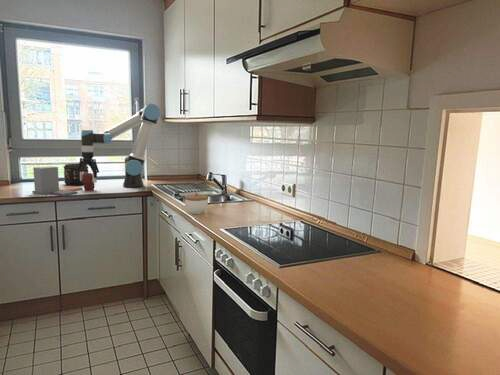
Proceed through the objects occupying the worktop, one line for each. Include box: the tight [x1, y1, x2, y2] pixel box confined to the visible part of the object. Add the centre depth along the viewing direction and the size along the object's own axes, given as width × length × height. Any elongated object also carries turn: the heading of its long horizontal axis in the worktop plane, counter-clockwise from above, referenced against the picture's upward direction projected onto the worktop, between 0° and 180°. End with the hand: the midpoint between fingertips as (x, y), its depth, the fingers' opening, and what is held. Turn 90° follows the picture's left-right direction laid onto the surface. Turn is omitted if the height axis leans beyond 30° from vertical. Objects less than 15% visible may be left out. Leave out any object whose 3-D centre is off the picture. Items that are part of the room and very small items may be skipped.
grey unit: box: [31, 165, 61, 196], centre depth 249 cm, size 14×12×18 cm
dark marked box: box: [63, 163, 89, 187], centre depth 289 cm, size 18×18×16 cm
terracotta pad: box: [59, 185, 84, 192], centre depth 263 cm, size 14×14×2 cm
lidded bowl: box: [184, 192, 209, 215], centre depth 201 cm, size 13×13×11 cm
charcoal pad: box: [51, 190, 78, 197], centre depth 247 cm, size 11×11×2 cm
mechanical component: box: [81, 172, 95, 192], centre depth 263 cm, size 12×10×10 cm
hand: (88, 181), depth 262 cm, fingers open, 13 cm apart
